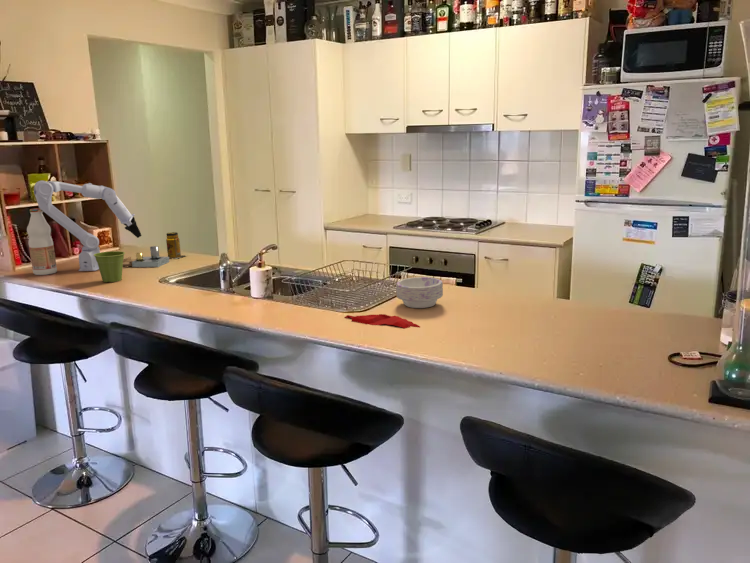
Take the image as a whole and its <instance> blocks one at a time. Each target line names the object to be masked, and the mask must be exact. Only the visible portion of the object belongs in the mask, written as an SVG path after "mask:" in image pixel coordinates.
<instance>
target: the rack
mask: <svg viewBox="0 0 750 563" xmlns="http://www.w3.org/2000/svg"><path fill="white" fill-rule="evenodd" d="M135 260H137V259H136V258H135V259H132V257H131V256H129V257H125V258H124V259H123V267H122V268H124V267H125V268H126V267H127V266H128V267H127V268H130V267H129V266H132V262H133V261H135ZM132 267H133V266H132Z"/></svg>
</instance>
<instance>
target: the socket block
mask: <svg viewBox="0 0 750 563" xmlns="http://www.w3.org/2000/svg"><path fill="white" fill-rule="evenodd" d="M159 258H160V259H153V260H151V256H143V261H137V260H135V261H133V262H132V268H159V267H162V266H164V265H166V264H168V263H170V258H169V257H168V256H159Z"/></svg>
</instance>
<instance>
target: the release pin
mask: <svg viewBox="0 0 750 563" xmlns="http://www.w3.org/2000/svg"><path fill="white" fill-rule="evenodd" d="M143 257H144V255H143V252H142V251H141V252H140V251H139V252H136V253H135V259H137V261H143Z"/></svg>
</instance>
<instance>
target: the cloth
mask: <svg viewBox="0 0 750 563" xmlns="http://www.w3.org/2000/svg"><path fill="white" fill-rule="evenodd" d="M347 318H349V319H351V322H354V323H360V324H363V325H370V326H382V325H387V326H394V327H397V328H403V329H408V328H411V327H412V328H421V326H420V325H419V324H416V323H414V322H413V321H410V320H408V319H406V318H402V317H400V316H398V315H388V314H386V313H383V314H382V313H380V314H365V315H356V316H355V315H349V314H348V315H346V316H344V318H343V319H347Z"/></svg>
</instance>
